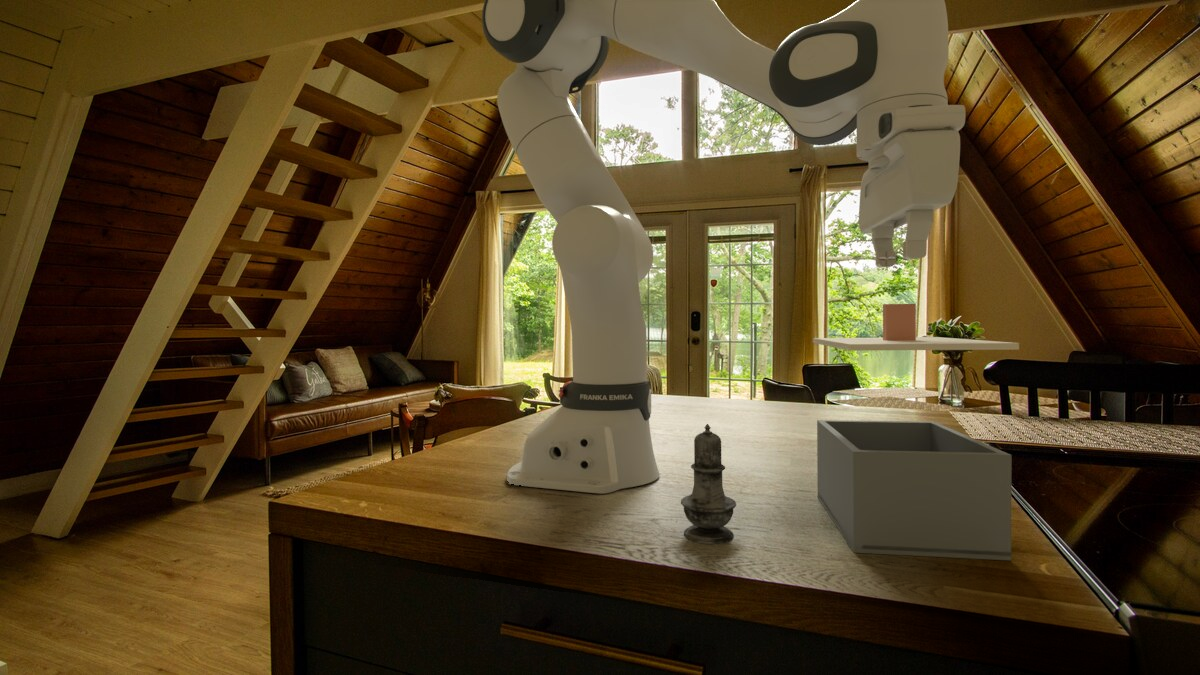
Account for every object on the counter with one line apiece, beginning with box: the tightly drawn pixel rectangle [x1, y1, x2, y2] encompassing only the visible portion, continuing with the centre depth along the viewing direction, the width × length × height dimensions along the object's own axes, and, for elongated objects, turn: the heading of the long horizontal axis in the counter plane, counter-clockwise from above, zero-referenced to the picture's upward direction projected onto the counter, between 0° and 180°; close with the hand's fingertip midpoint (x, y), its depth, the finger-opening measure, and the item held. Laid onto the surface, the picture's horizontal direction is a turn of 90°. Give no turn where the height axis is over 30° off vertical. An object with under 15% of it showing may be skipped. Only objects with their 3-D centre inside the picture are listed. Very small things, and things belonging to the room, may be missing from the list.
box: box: [816, 419, 1013, 561], centre depth 65 cm, size 14×18×10 cm
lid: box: [812, 303, 1020, 352], centre depth 64 cm, size 15×19×5 cm
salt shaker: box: [680, 423, 737, 545], centre depth 62 cm, size 6×6×12 cm
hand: (898, 263), depth 64 cm, fingers open, 8 cm apart
